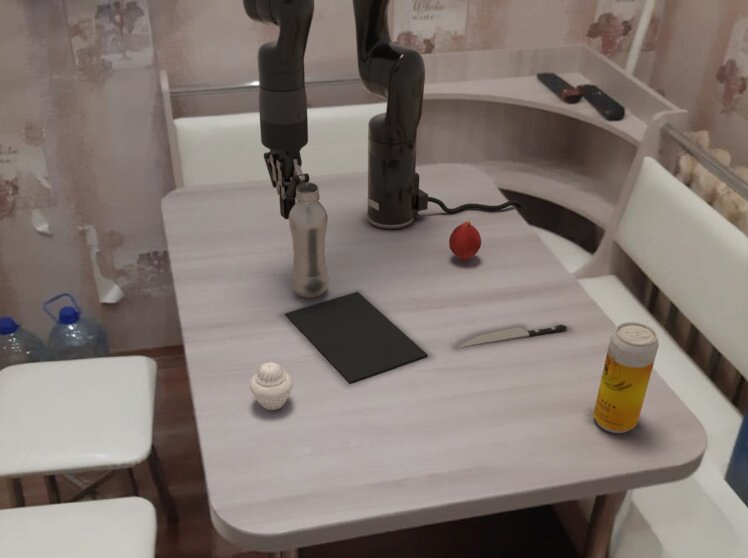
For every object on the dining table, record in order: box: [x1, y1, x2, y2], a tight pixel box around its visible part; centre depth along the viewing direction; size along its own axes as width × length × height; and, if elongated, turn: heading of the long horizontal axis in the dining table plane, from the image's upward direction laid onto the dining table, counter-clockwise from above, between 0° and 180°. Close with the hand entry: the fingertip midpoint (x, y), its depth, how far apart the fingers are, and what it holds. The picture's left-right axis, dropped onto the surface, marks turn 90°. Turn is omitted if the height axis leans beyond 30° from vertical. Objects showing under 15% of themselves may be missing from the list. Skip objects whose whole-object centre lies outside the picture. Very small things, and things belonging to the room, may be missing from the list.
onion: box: [448, 219, 482, 261], centre depth 151 cm, size 6×6×8 cm
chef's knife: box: [457, 324, 568, 349], centre depth 134 cm, size 19×1×3 cm
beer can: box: [593, 321, 660, 434], centre depth 112 cm, size 6×6×15 cm
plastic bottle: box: [288, 181, 329, 299], centre depth 137 cm, size 6×7×20 cm
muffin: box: [249, 361, 293, 411], centre depth 118 cm, size 6×6×7 cm
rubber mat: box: [284, 291, 428, 384], centre depth 133 cm, size 14×22×1 cm, turn 30°
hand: (288, 216), depth 140 cm, fingers closed
